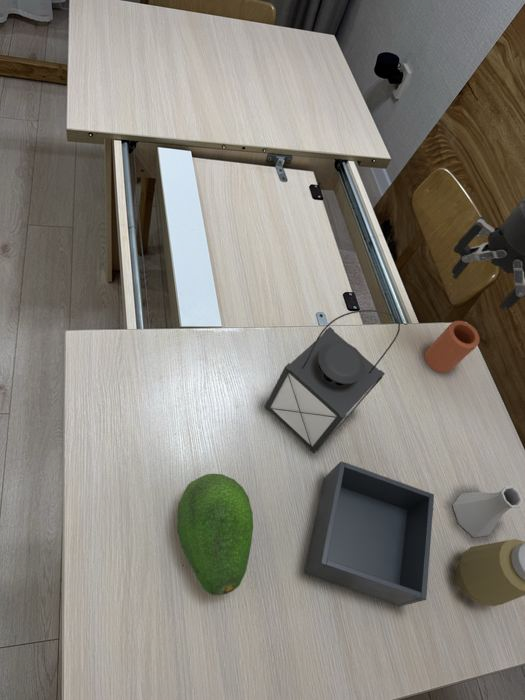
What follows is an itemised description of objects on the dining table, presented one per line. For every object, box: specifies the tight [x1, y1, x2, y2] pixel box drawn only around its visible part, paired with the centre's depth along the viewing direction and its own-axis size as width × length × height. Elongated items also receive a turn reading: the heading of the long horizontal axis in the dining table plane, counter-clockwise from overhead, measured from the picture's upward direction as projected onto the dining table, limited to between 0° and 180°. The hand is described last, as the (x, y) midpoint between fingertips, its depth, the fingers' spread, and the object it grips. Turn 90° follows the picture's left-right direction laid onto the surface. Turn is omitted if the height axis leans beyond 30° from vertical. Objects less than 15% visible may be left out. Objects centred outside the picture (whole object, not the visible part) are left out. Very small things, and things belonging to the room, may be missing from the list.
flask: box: [452, 485, 524, 538], centre depth 77 cm, size 7×7×10 cm
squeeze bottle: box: [454, 538, 525, 607], centre depth 68 cm, size 8×8×18 cm
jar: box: [424, 320, 481, 374], centre depth 93 cm, size 6×6×9 cm
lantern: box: [264, 309, 401, 454], centre depth 74 cm, size 11×11×28 cm
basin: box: [303, 460, 435, 607], centre depth 72 cm, size 14×14×8 cm
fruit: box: [176, 473, 254, 596], centre depth 66 cm, size 15×10×10 cm, turn 6°
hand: (478, 290), depth 81 cm, fingers open, 8 cm apart
